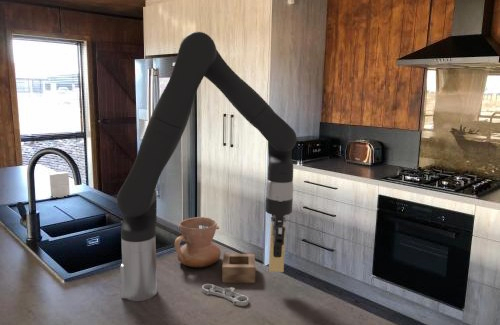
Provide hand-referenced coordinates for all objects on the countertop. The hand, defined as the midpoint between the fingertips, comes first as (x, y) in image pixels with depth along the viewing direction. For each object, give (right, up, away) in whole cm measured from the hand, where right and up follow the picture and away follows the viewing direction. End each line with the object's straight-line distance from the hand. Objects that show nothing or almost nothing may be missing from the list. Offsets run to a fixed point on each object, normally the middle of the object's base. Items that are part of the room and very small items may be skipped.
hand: (276, 253), depth 117 cm
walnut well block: (-11, -9, +12) cm, 19 cm away
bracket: (-15, -12, -1) cm, 19 cm away
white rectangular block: (-108, +9, +100) cm, 147 cm away
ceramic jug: (-25, -8, +20) cm, 33 cm away
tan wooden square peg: (0, -5, +1) cm, 5 cm away
